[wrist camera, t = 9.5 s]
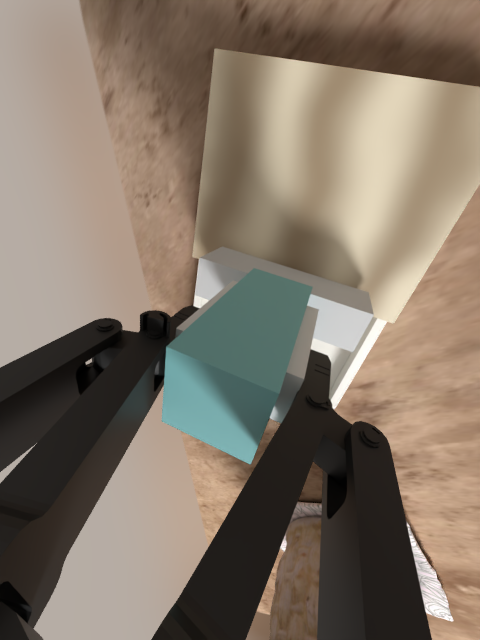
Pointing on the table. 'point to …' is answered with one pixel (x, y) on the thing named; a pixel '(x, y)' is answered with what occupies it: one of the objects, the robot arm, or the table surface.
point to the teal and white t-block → (249, 346)
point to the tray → (338, 355)
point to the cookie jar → (303, 578)
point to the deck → (336, 170)
